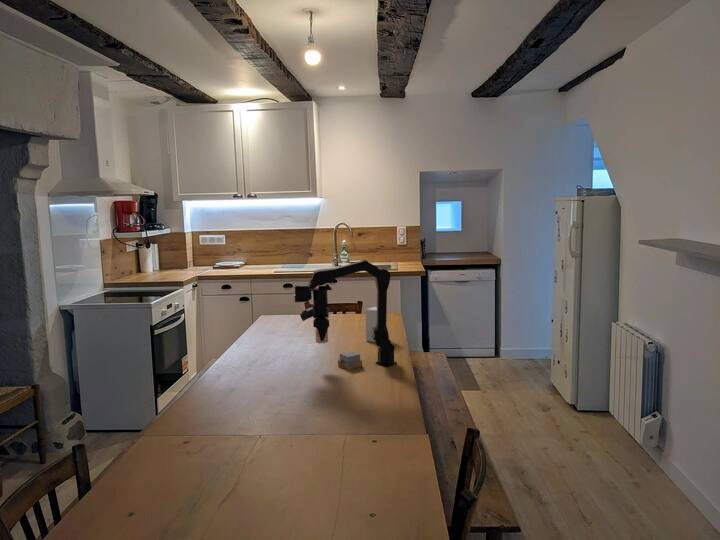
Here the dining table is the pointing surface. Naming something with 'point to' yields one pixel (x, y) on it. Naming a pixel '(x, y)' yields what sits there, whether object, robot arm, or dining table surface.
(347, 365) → the walnut block
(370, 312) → the skincare box
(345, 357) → the grey block
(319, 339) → the terracotta cylinder
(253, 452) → the dining table surface
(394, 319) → the dining table surface
